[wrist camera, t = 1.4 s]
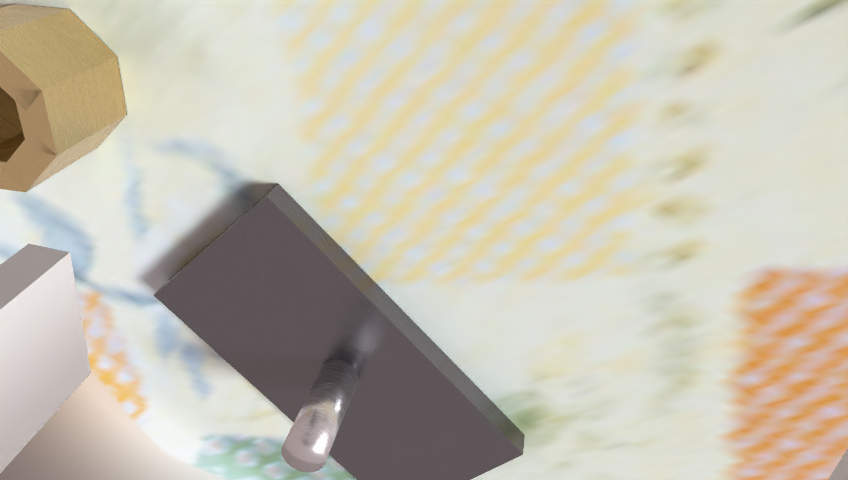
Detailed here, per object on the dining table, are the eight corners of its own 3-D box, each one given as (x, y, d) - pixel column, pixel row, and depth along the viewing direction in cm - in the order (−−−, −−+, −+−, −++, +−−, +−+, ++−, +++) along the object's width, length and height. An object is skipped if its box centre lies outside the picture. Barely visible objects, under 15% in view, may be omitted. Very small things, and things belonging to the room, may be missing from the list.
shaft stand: (167, 280, 40) (88, 363, 33) (278, 183, 35) (211, 258, 29) (401, 496, 45) (372, 604, 38) (524, 435, 40) (514, 546, 34)
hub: (-31, 68, 36) (-124, 102, 31) (34, -26, 32) (-58, -5, 28) (77, 169, 37) (5, 216, 33) (149, 89, 34) (80, 127, 29)
